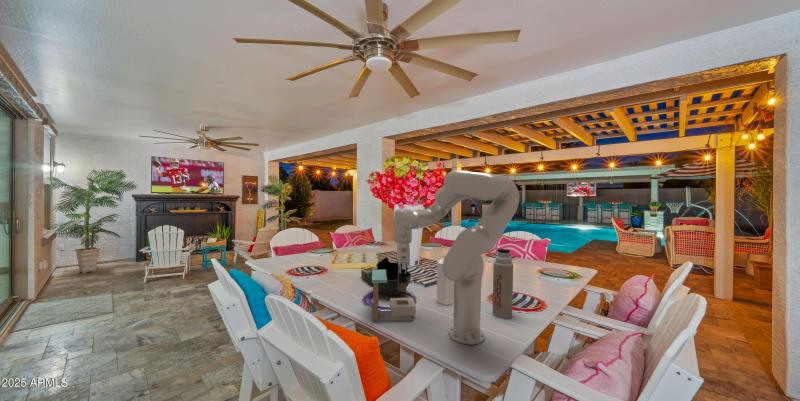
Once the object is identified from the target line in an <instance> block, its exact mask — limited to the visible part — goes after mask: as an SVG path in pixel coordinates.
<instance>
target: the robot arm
mask: <svg viewBox="0 0 800 401" xmlns="http://www.w3.org/2000/svg"><path fill="white" fill-rule="evenodd" d="M466 198H468V199H474V200H479V201H487V202H488V201H491V203H490V205H489V206H488V207H487V208H486V209H485V211H484V212H483V214H482V216H481V218H480V219H479V221H478V222H477V224H475V225H474V226H470V227H467V228H465V229H463V230H462V231H461V232H460V233H459V234H458V235H457V237H456V239H455V240H454V241H453V243H452V244H451V247H450V248H449V250H448V252H447V253H446V255H444V256H445V258H444V261H443V266H442V268H443V273H444V275H445V276H446V278H448V279H449V280H451V281H454V282H455V283H454V303H453V320H452V321H453V326H452V327H450V328H449V330H448V335H449V337H450V339H452V340H453V341H455V342H456V343H460V344H465V345H478V344H481V343H482V342H483V341H484V340H485V337H486V336H485V333H484V332H483V330H481V304H482V297H481V296H482V281H483V273H484V265H485V264H484V259H483V256H482V255H484V254H486V253H490V252H491V251H492V250H493V249H494V247H495V245H496V244H497V243H498V241H499V240H500V237H501V236H502V235H503V234H504V231H505V230H506V228H507V227H508V225H509V224H510V222H511V221H512V219H513V217H514V216H515V214H516V213H517V210H518V207H519V204H520V193H519V190H518V187H517V186H516V184H515V182H514V181H513V179H511V178H510V177H507V176H506V175H502V174H495V173H488V172H487V173H486V172H475V171H469V170H465V169H454V170H451V171H449V172H448V173H447V174H446V175H445V177H444V180H443V185H442V186H441V187H440V188H439V189H437V190H436V191H435V193H434V199H435V201H434V202H433V203H432V204H431V205H429V206H428V207H427V208H425V209H415V210H414V209H413V210H411V209H406V208H404V209H403V208H399V209H395V211H394V223H393V224H394V225H393V226H394V227H393V228H394V229H393V231H394V232H393V242H394V243H396V262H397V263H398V266H399V267H400V273H399V283H406V274H407V273H406V264H407V268H409V267H410V266H411V265H410V264H411V256H410V255H411V253H410V252H411V251H410V250H411V248H410V244H411V243H412V240H413V237H412V236H413V230H418V229H422V228H429V227H431V226H433V225H435V224H437V223H438V222H439V221H441V220H443V218H445V217H446V216H447V214H448V213H449V212H450V210H451V209H452V208H454V207H455V206H457V204H459V203H460V202H462V201H464V200H465V199H466ZM401 265H402V266H401ZM401 267H402V268H401Z"/></svg>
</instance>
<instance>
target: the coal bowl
mask: <svg viewBox="0 0 800 401" xmlns="http://www.w3.org/2000/svg"><path fill="white" fill-rule="evenodd" d="M375 266H376V269H377V270H386V275H387V283H378V292H380V293H383V294H384V295H387V294H388V295H389V296H395V295H399V294H401V293H402V292H400V291H398V263H397V261H396V262H390V260H389V258H388V257H387V256H386V257H385V258H382V259H381V260H380V261H378V262H377V263H376V265H375ZM408 268H409V267H408V266H406V273H407V274H406V289H407V287H408V286H409V284H410V282H411V278H412V274H411V272H409V271H408ZM398 293H399V294H398ZM394 294H395V295H394ZM388 295H387V296H388Z"/></svg>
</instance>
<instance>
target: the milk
mask: <svg viewBox="0 0 800 401" xmlns="http://www.w3.org/2000/svg"><path fill="white" fill-rule="evenodd" d="M445 256H446V255H443V254H442V255H441V258H440V259H439V260H438V261H437V263H436V264H437V265H436V303H439V304H441V305H443V306H446V307H447V306H449V305H454V283H455V282H454V281H451V280H449V279H448V278H446V276H445V275H444V273H443V268H442V266H443V261H444V258H445Z"/></svg>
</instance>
